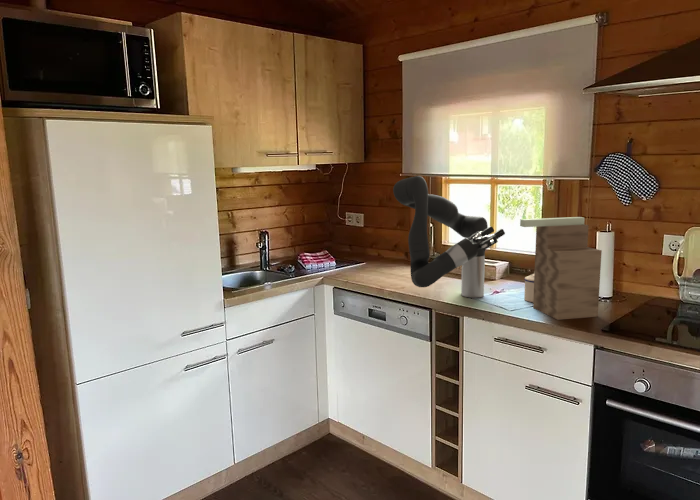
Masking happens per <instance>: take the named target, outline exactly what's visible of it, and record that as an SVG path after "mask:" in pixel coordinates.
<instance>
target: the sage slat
mask: <svg viewBox="0 0 700 500" xmlns="http://www.w3.org/2000/svg"><path fill="white" fill-rule="evenodd" d="M585 220H586V219H585V217H582V216H571V217H570V216H569V217H546V218H545V217H544V218H523V219H522V218H521V219H519V224H520V225H519V226H520V227H521V228H522V227H523V228H534V227H535V228H536V227H539V226H562V225H585Z"/></svg>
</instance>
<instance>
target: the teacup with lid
mask: <svg viewBox="0 0 700 500" xmlns="http://www.w3.org/2000/svg"><path fill="white" fill-rule="evenodd" d="M534 275H535V271H533V273H531V274H530V275H528V276H525V277H524V298H523V299H524V300H525V301H526V302H529V303H533V300H534Z"/></svg>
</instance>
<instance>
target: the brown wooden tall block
mask: <svg viewBox="0 0 700 500" xmlns="http://www.w3.org/2000/svg"><path fill="white" fill-rule="evenodd" d="M535 228H536V229H535V231H536V232H535V251H534V252H535V254H534V272H535V275H534V300H533V302H532V304H533V305H532V307H533V309H534V310H537V311H539V312H541V313H543V314H545V315H547V316H549V317H551V318H553V319H555V320H569V319H571V320H573V319H584V318H597V317H599V302H600V287H601V285H600V284H601V268H602V254H603V253H602V249H597V248H593V247H588V243H589V241H588V240H589V224H584V225H562V226H539V227H535Z"/></svg>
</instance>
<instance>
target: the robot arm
mask: <svg viewBox="0 0 700 500" xmlns="http://www.w3.org/2000/svg"><path fill="white" fill-rule="evenodd" d="M392 191H393V192H392V193H393V195H394V198H395V199H396V200H397V202H399V203H400V204H401V205H403V206H406V207H408V208H411V209H414V216H413V220H412V223H411V226H410V229H409V233H408V238H407V241H408V250H409V258H410V279H411V282H412V283H413V285H414V286H415V287H418V288H427V287H430V286H432V285H433V284H435V283H436V282H437V281H439V280H440V279H441V278H442V277H443V276H445V275H447V274H449V273H450V272H452V271H453V270H455V269H457V268H458V267H460V266H461V293H460V295H461V296H462V297H464V298H473V299H475V298H477V299H478V298H482V297H484V295H485V263H486V262H485V261H486V260H485V258H486V256H485V255H486V250H488V249H489V248H490V247H492V246H494V245H495V244H497V243H498V242H499V241H498V239H499V238H501V237H504V236H505V235H506V232H505V230H504V228H500V229H498V230H497V231H496V232H495V230H494V228H493V226H491V225H490V226H489V227H488V221H487V220H486V218H485V217H483V216H474V215H472V216H471V215H465V214H462V213H461V212H459V210H458V206H457V205H456V204H455V203H454V202H452V201H451V200H449V199H447V198H446V197H444V196H440V195H438V194H437V195H436V194H430V193H429V187H428V184H427V182H426V180H425V178H424V177H423V176H420V175H415V176H411V177H407V178H403V179H400V180H399V181H397V182H396V183H395V184H394V185H393V189H392ZM428 217H429V218H432V219H433V220H435V221H436V222H438V223H440V224H441V225H444V226H446V227H448V228H450V229H452V230H453V231H454V232H456V233H457V234H458V235H460V236H461V237H462V238H463V239H462V240H460V241H458V242H456V243H455V244H453V245H452V246H450V247H448V249H447V250H445V251H444V252H442V253H440V254H439V255H437V256H436V257H435V258H434V259H433V260H431V261H430V262H429V259H430V245H429V238H428V237H429V236H428Z"/></svg>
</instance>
